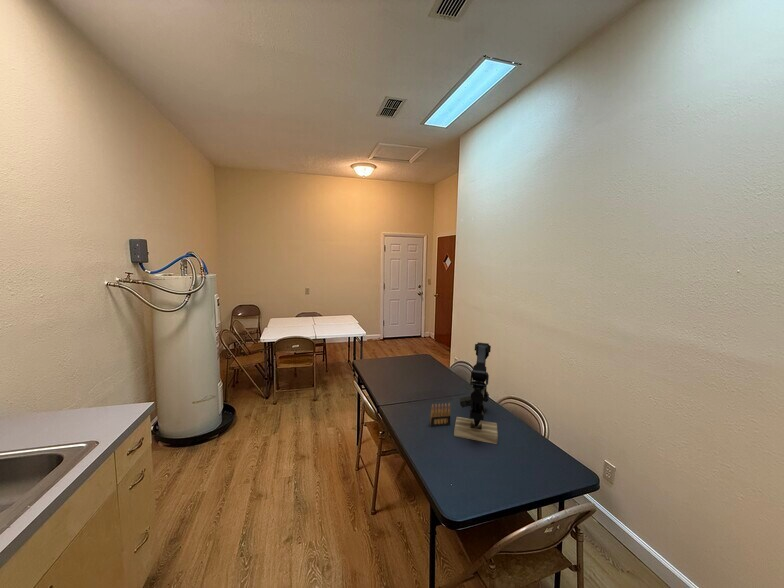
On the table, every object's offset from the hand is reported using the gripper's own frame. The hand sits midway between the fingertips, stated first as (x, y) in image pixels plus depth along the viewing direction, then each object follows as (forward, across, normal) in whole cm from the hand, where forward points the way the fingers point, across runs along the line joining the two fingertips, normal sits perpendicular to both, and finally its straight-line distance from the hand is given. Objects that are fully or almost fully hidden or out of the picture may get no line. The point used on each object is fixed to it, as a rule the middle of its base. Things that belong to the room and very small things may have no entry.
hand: (476, 423), depth 158 cm
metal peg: (+3, 0, 0) cm, 3 cm away
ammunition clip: (+5, -2, -18) cm, 19 cm away
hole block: (+5, 0, 0) cm, 5 cm away
